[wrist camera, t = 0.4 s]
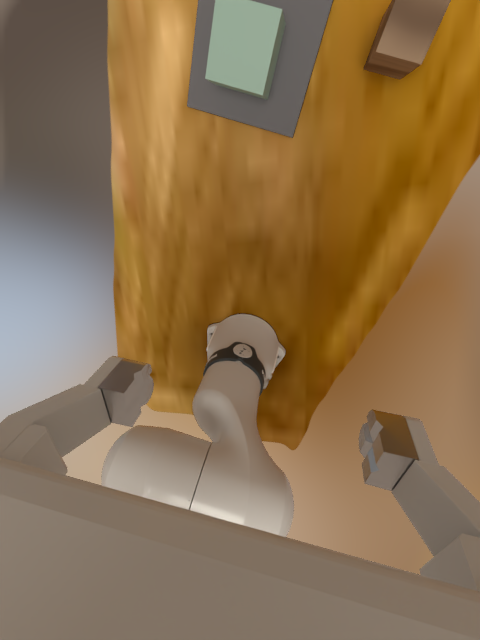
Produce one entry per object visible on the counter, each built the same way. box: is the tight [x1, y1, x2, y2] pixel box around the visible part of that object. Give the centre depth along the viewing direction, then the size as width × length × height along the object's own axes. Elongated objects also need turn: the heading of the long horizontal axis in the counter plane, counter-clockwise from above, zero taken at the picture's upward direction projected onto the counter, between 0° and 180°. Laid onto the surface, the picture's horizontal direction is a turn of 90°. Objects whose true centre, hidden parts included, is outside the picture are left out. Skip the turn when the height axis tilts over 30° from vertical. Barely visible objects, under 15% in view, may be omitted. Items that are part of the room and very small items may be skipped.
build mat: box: [187, 0, 333, 138], centre depth 39 cm, size 15×17×1 cm
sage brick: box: [205, 0, 286, 100], centre depth 37 cm, size 8×8×5 cm
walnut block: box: [364, 0, 451, 79], centre depth 32 cm, size 5×5×9 cm
